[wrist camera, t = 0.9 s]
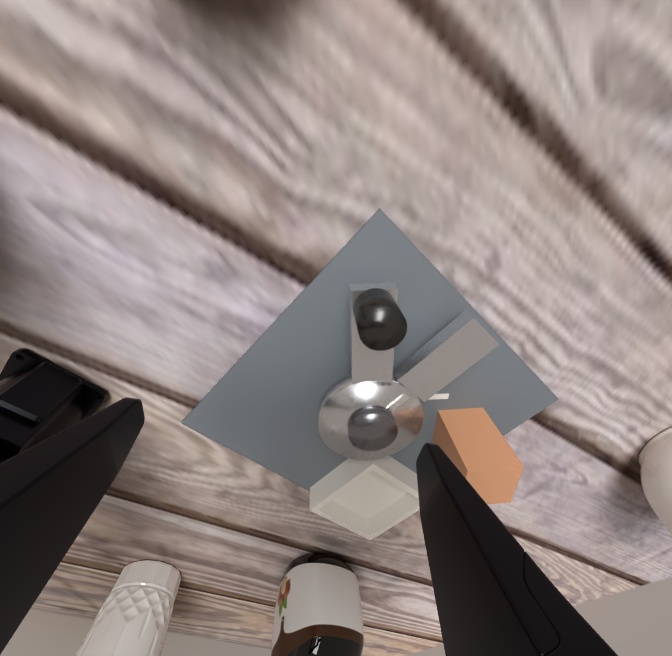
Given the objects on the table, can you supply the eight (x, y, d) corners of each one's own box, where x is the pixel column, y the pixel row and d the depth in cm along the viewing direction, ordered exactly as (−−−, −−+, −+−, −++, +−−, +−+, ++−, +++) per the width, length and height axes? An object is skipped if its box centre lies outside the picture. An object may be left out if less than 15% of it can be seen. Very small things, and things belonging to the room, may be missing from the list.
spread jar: (314, 539, 35) (313, 691, 25) (387, 565, 39) (413, 707, 29) (261, 584, 40) (241, 732, 29) (332, 604, 43) (336, 741, 33)
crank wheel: (367, 461, 27) (375, 505, 23) (248, 386, 22) (235, 427, 19) (509, 355, 22) (545, 390, 19) (395, 236, 18) (415, 254, 14)
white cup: (199, 580, 38) (164, 705, 29) (145, 595, 39) (94, 720, 30) (160, 549, 35) (107, 680, 26) (102, 566, 36) (31, 698, 27)
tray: (367, 517, 33) (370, 540, 31) (310, 487, 31) (309, 510, 29) (425, 479, 31) (432, 501, 29) (368, 442, 28) (373, 464, 26)
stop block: (432, 442, 29) (458, 506, 23) (437, 410, 27) (467, 470, 21) (474, 440, 29) (510, 502, 23) (482, 407, 27) (523, 466, 22)
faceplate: (369, 519, 34) (374, 553, 31) (182, 420, 26) (165, 452, 23) (556, 396, 27) (585, 424, 24) (379, 208, 19) (390, 216, 16)
